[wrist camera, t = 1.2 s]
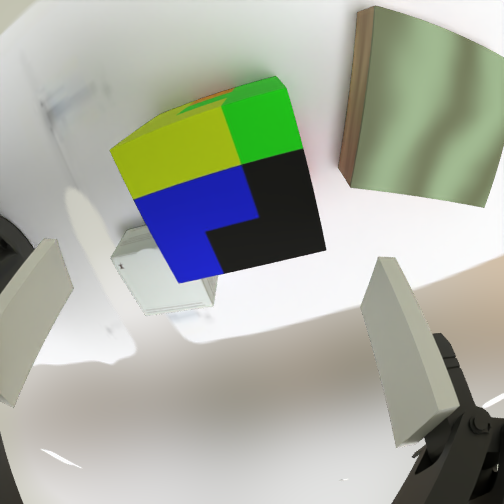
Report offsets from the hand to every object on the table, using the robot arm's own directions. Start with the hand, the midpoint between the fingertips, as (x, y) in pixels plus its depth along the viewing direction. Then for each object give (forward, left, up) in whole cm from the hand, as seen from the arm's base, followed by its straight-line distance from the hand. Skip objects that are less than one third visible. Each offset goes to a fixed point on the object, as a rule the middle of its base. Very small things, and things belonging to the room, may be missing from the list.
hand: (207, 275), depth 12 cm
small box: (-6, -11, -17) cm, 21 cm away
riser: (+16, +6, -16) cm, 24 cm away
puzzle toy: (0, 0, -17) cm, 17 cm away
